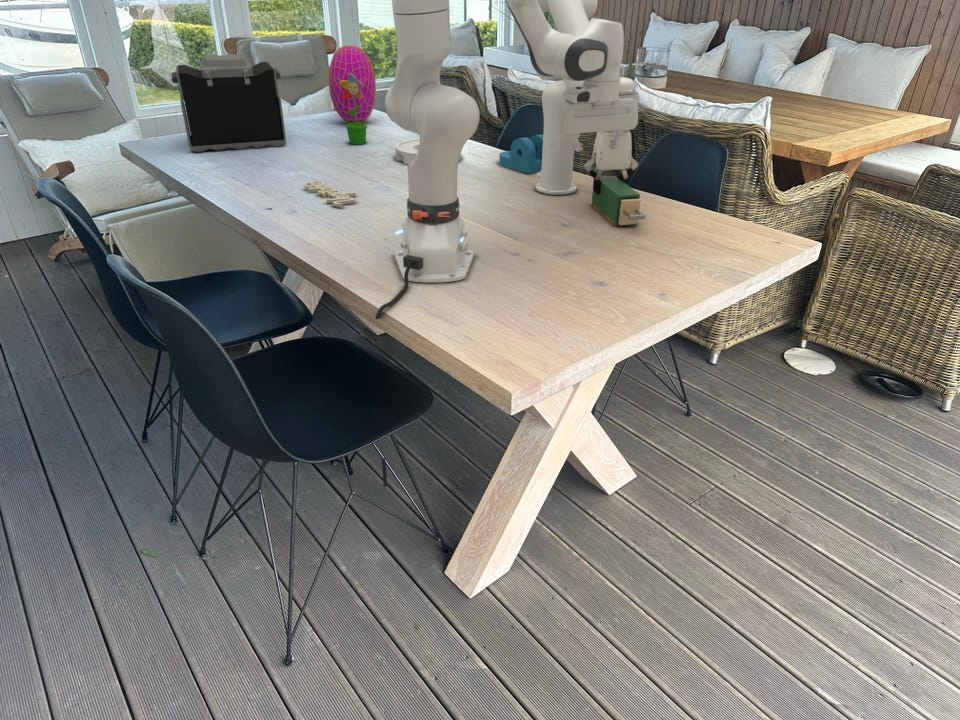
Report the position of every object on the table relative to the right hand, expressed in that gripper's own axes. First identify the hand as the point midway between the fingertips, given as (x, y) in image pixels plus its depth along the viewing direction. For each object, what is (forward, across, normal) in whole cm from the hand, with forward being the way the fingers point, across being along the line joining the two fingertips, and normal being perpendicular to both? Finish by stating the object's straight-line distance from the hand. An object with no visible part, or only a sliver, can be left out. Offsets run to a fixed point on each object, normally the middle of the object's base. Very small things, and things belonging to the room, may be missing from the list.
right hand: (608, 191), depth 194 cm
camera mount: (+5, +12, -49) cm, 51 cm away
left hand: (-15, +10, +14) cm, 23 cm away
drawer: (+4, 0, +10) cm, 11 cm away
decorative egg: (+5, +64, -128) cm, 144 cm away
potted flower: (+5, +65, -91) cm, 112 cm away
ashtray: (+5, +42, -65) cm, 78 cm away
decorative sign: (+5, +77, -27) cm, 82 cm away
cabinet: (+5, 0, +5) cm, 7 cm away
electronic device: (+5, +110, -98) cm, 148 cm away
